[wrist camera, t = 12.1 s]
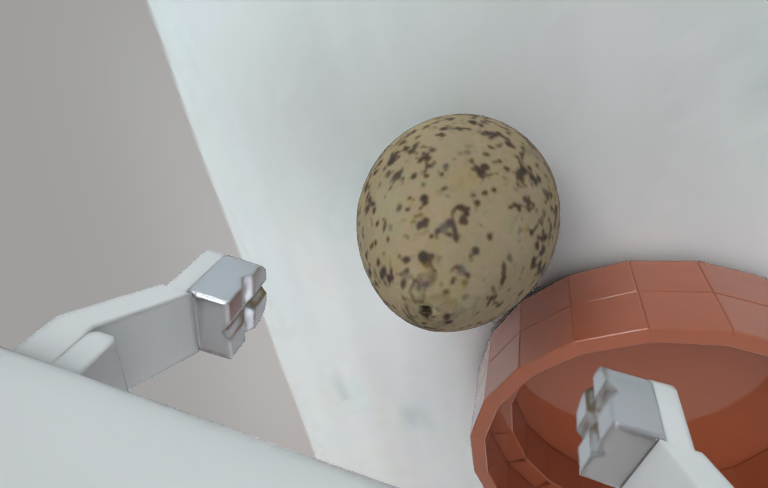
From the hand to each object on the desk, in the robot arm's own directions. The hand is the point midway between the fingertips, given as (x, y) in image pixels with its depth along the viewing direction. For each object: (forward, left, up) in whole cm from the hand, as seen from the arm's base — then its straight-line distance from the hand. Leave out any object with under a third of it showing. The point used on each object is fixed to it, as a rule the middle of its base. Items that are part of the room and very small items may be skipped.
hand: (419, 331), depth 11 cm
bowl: (+10, +11, -11) cm, 19 cm away
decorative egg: (+1, 0, -12) cm, 12 cm away
